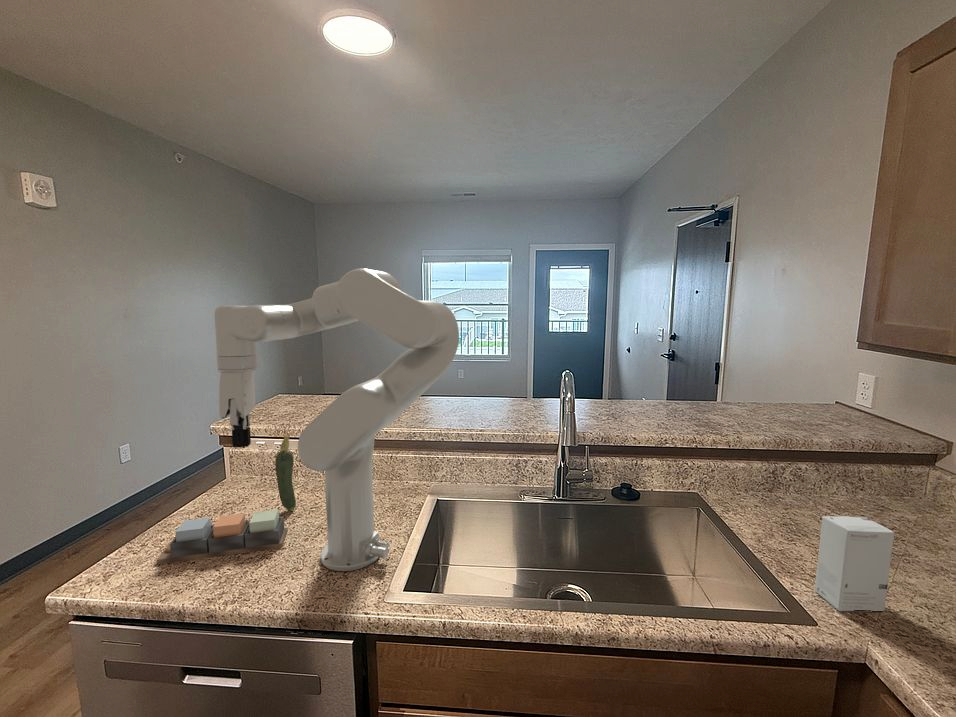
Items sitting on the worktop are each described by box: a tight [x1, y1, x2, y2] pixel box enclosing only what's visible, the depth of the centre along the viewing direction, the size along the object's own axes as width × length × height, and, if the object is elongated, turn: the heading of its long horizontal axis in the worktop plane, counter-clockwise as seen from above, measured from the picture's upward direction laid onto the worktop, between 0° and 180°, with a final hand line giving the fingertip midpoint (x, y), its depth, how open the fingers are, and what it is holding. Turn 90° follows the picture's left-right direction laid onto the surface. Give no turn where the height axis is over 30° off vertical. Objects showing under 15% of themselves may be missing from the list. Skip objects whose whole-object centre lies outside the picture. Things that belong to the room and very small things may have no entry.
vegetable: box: [274, 434, 297, 511], centre depth 111 cm, size 4×4×20 cm
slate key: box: [174, 516, 212, 542], centre depth 94 cm, size 5×5×4 cm
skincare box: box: [814, 515, 895, 612], centre depth 77 cm, size 8×6×15 cm
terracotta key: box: [213, 513, 247, 538], centre depth 95 cm, size 5×5×4 cm
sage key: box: [249, 509, 280, 533], centre depth 97 cm, size 5×5×4 cm
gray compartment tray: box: [155, 515, 289, 565], centre depth 95 cm, size 24×7×4 cm, turn 105°
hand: (241, 445), depth 95 cm, fingers closed
